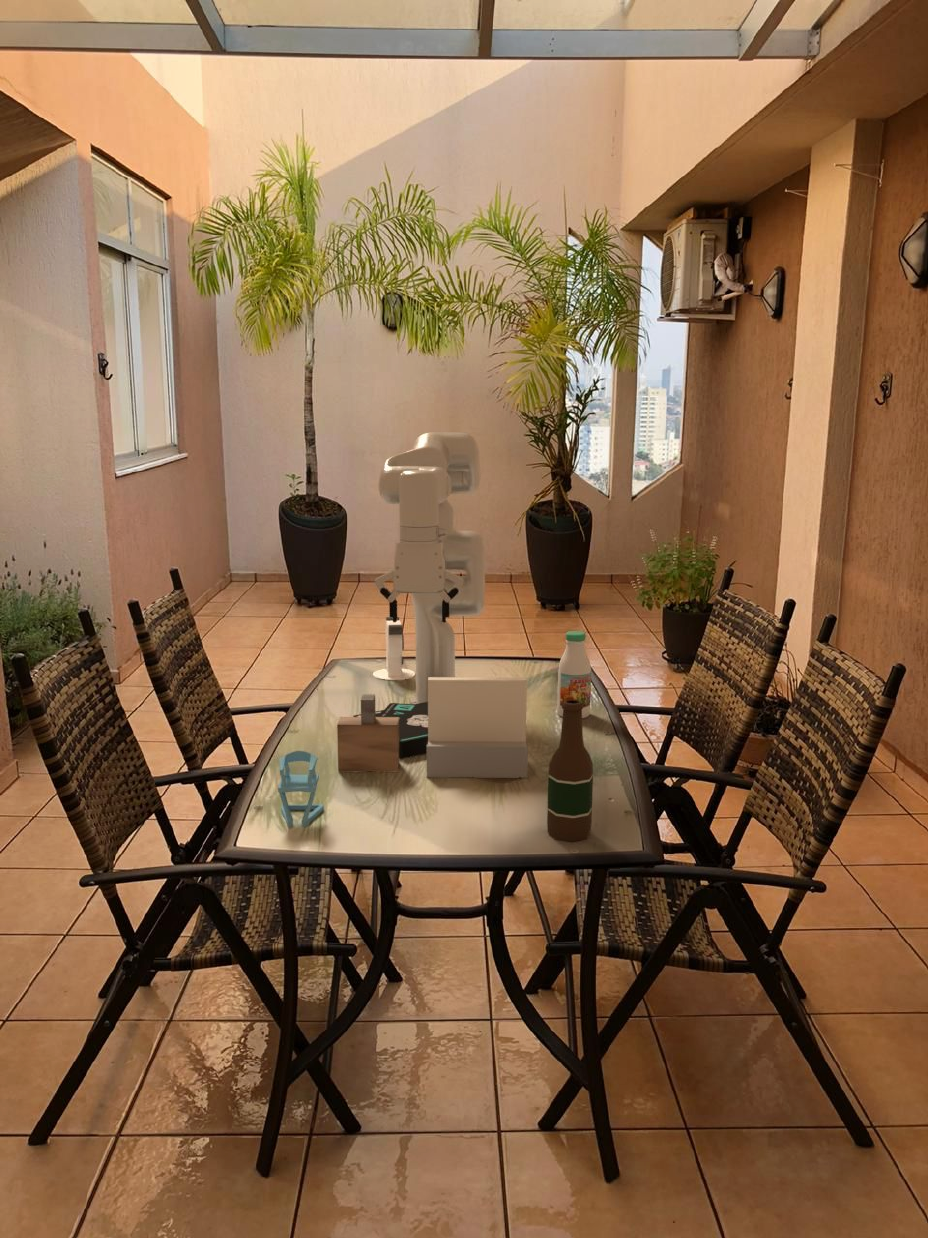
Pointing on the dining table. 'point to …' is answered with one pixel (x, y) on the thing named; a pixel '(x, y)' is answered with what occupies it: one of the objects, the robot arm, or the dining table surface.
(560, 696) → the milk bottle
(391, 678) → the white peg on disc
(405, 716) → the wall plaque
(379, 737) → the walnut cabinet
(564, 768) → the beer bottle
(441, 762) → the wall board
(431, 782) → the dining table surface
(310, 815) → the chair
